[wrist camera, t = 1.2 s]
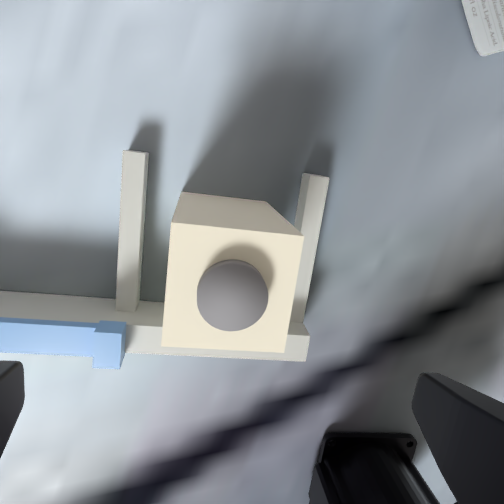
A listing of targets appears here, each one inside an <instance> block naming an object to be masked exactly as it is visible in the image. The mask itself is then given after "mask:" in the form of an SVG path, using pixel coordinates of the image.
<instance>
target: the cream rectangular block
mask: <svg viewBox="0 0 504 504" xmlns="http://www.w3.org/2000/svg"><path fill="white" fill-rule="evenodd" d="M303 241H304V235H303V234H301V233H300V232H299V231H298V230H297V229H296V228H295V227H294V226H293V225H292V224H290V223H289V222H288V221H287V220H286V219H285V218H284V217H283V216H282V215H280V214H279V213H278V212H277V211H276V210H275V209H274V208H273V207H272V206H270V205H269V204H268V203H267V202H266V201H258V200H250V199H241V198H233V197H224V196H216V195H207V194H199V193H190V192H182V191H181V194H180V197H179V200H178V203H177V206H176V209H175V212H174V215H173V218H172V221H171V231H170V243H169V255H168V267H167V280H166V292H165V304H164V316H163V328H162V340H161V346H163V347H182V348H201V349H219V350H238V351H257V352H276V353H284V351H285V345H286V339H287V334H288V328H289V322H290V316H291V311H292V305H293V299H294V293H295V287H296V282H297V276H298V270H299V264H300V259H301V253H302V247H303Z"/></svg>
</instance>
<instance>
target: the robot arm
mask: <svg viewBox="0 0 504 504" xmlns="http://www.w3.org/2000/svg"><path fill="white" fill-rule="evenodd" d="M24 398H25V391H24V369H23V365H22V363H21V362H20V361H0V458H1V456H2V453H3V451H4V449H5V447H6V444H7V442H8V440H9V437H10V435H11V433H12V430H13V428H14V426H15V424H16V421H17V419H18V417H19V414H20V412H21V410H22V407H23V404H24ZM412 409H413V413H414V415H415V417H416V420H417V422H418V424H419V426H420V428H421V431H422V433H423V435H424V437H425V439H426V441H427V444H428V446H429V448H430V450H431V452H432V455H433V457H434V459H435V461H436V463H437V465H438V467H439V469H440V471H441V473H442V475H443V477H444V479H445V481H446V483H447V484H448V486H449V488H450V490H451V491H452V493H453V495H454V497H455V498H456V500H457V502H456V503H454V504H504V403H502V402H500V401H498V400H495V399H493V398H491V397H489V396H487V395H485V394H482V393H480V392H478V391H476V390H474V389H472V388H469V387H467V386H465V385H463V384H461V383H458V382H456V381H454V380H452V379H450V378H448V377H445V376H443V375H441V374H439V373H422V374H420V376H419V377H418V380H417V384H416V388H415V392H414V396H413V400H412ZM331 440H333V441H332V442H330V441H331ZM409 441H410V442H409ZM416 445H417V441H416V439H415V438H414V437H413V435H411V434H389V433H336V432H331V433H328V434H326V435H325V436H324V438H323V442H322V446H321V451H320V455H319V460H318V463H316V465H315V466H314V471H313V476H312V480H311V485H310V490H309V498H310V502H309V504H440V503H439V502H438V500H437V499H436V497H435V496H434V494H433V493H432V491H431V490H430V488H429V487H428V485H427V484H426V482H425V481H424V479H423V478H422V476H421V475H420V473H419V471H418V470H417V468H416V467H415V465H414V464H413V462H412V459H413V456H414V452H415V449H416Z"/></svg>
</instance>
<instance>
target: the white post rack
mask: <svg viewBox="0 0 504 504" xmlns="http://www.w3.org/2000/svg"><path fill="white" fill-rule="evenodd" d="M148 162H149V152H141V151H133V150H123V158H122V179H121V200H120V221H119V242H118V263H117V285H116V299H111V298H97V297H83V296H69V295H55V294H41V293H27V292H13V291H0V352H4V353H25V354H46V355H67V356H88V357H93V368H105V369H120V367H121V364H122V361H123V358H124V356H125V353H141V354H161V355H181V356H201V357H221V358H241V359H262V360H282V361H302V362H305V361H306V356H307V351H308V346H309V340H310V335H309V333H308V331H307V329H306V328H305V326H304V324H303V320H304V314H305V309H306V303H307V298H308V293H309V287H310V282H311V276H312V271H313V265H314V260H315V254H316V249H317V243H318V238H319V233H320V227H321V222H322V216H323V211H324V205H325V200H326V194H327V189H328V183H329V177H325V176H322V175H315V174H308V173H303V174H302V180H301V186H300V192H299V198H298V204H297V210H296V217H295V223H294V227H295V228H296V229H297V230H298V231H299V232H300V233H301V234H303V235H304V241H303V247H302V253H301V259H300V264H299V270H298V276H297V282H296V287H295V293H294V299H293V305H292V311H291V316H290V322H289V328H288V334H287V339H286V345H285V351H284V353H276V352H257V351H238V350H219V349H201V348H182V347H163V346H161V340H162V328H163V316H164V304H165V302H153V301H140V286H141V271H142V255H143V240H144V224H145V209H146V193H147V177H148Z"/></svg>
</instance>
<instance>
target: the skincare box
mask: <svg viewBox="0 0 504 504" xmlns="http://www.w3.org/2000/svg"><path fill="white" fill-rule="evenodd" d="M461 1H462V4H463V8H464V12H465V15H466V18H467V22H468V25H469V29H470V32H471V36H472V39H473V42H474V45H475V48H476V50H477V52H478V53H479V54H480V55H481V56H487V55H490V54H493V53H497V52H501V51H504V0H461Z"/></svg>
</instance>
